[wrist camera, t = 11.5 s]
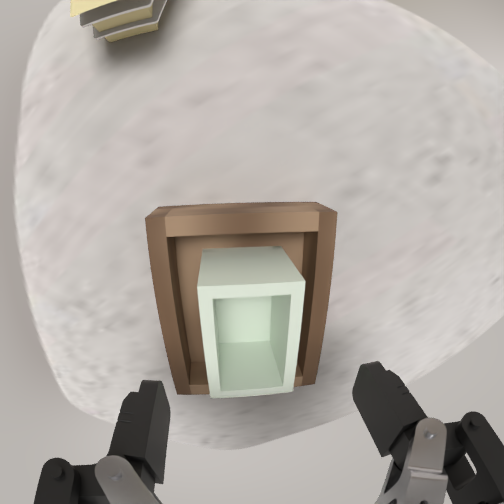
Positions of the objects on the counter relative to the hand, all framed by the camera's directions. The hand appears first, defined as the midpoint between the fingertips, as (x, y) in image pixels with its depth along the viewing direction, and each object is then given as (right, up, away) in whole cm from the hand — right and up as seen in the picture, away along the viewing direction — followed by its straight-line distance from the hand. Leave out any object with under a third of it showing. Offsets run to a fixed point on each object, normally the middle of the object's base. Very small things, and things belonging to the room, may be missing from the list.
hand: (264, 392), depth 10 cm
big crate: (-1, +3, +8) cm, 9 cm away
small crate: (-1, +2, +8) cm, 8 cm away
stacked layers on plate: (-8, +22, +1) cm, 23 cm away
